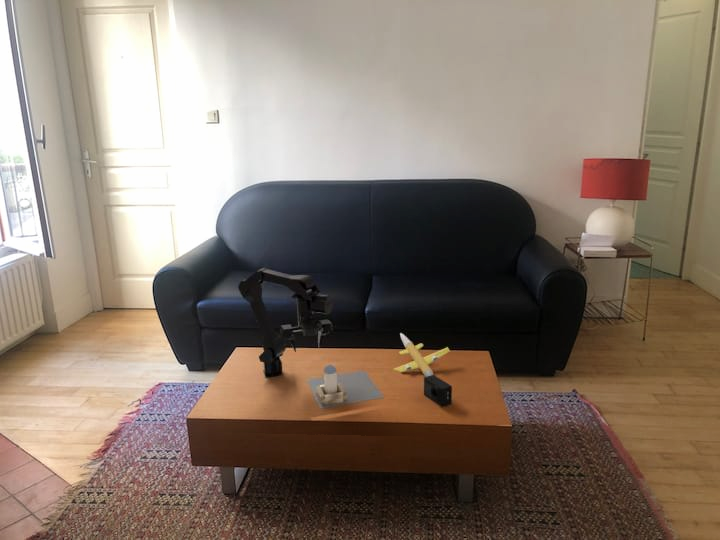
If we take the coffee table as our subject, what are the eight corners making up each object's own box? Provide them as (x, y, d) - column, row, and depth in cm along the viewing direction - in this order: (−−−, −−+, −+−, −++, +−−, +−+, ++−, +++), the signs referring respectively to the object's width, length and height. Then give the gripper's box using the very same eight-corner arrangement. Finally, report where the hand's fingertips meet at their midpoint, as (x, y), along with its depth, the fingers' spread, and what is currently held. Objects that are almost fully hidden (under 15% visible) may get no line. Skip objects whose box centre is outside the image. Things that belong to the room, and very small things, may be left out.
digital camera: (420, 395, 191) (420, 377, 190) (433, 391, 194) (433, 374, 192) (438, 408, 183) (439, 389, 181) (451, 404, 185) (451, 385, 183)
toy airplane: (463, 376, 208) (429, 332, 232) (462, 362, 204) (427, 319, 228) (403, 401, 203) (375, 353, 227) (400, 388, 199) (371, 341, 223)
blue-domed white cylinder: (324, 400, 188) (322, 367, 185) (326, 393, 192) (324, 362, 189) (336, 400, 187) (335, 368, 184) (338, 394, 192) (337, 362, 188)
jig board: (320, 411, 182) (320, 408, 182) (306, 381, 204) (306, 379, 203) (384, 399, 189) (384, 397, 189) (364, 372, 210) (364, 370, 210)
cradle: (321, 405, 184) (321, 397, 183) (315, 393, 193) (315, 385, 192) (347, 401, 187) (347, 393, 186) (340, 389, 195) (340, 381, 194)
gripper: (283, 320, 186) (286, 362, 191) (335, 313, 192) (337, 354, 196) (278, 310, 197) (281, 350, 201) (327, 304, 202) (329, 343, 206)
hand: (307, 349), depth 201 cm, fingers open, 9 cm apart
